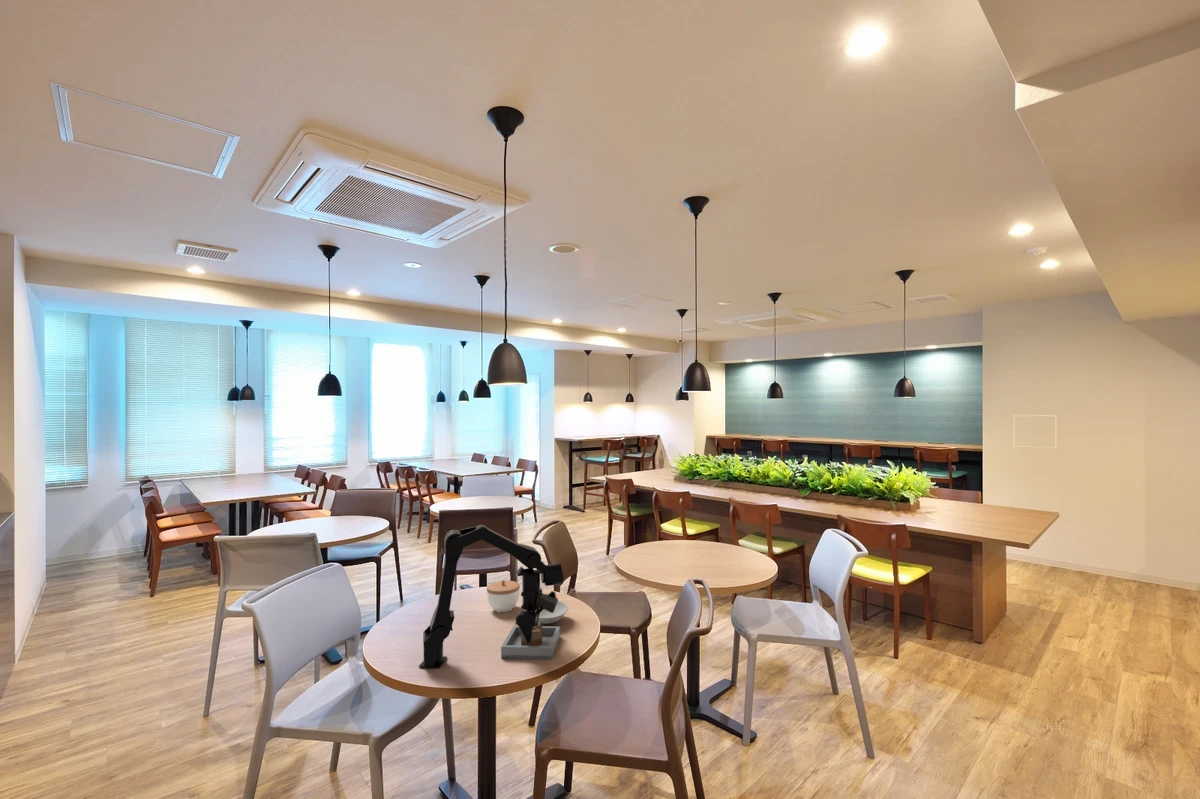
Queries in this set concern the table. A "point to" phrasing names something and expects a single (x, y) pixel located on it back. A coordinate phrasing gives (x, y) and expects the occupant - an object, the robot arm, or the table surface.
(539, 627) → the walnut block
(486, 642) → the table surface
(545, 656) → the tray
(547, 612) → the dish
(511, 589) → the lidded bowl
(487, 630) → the table surface
